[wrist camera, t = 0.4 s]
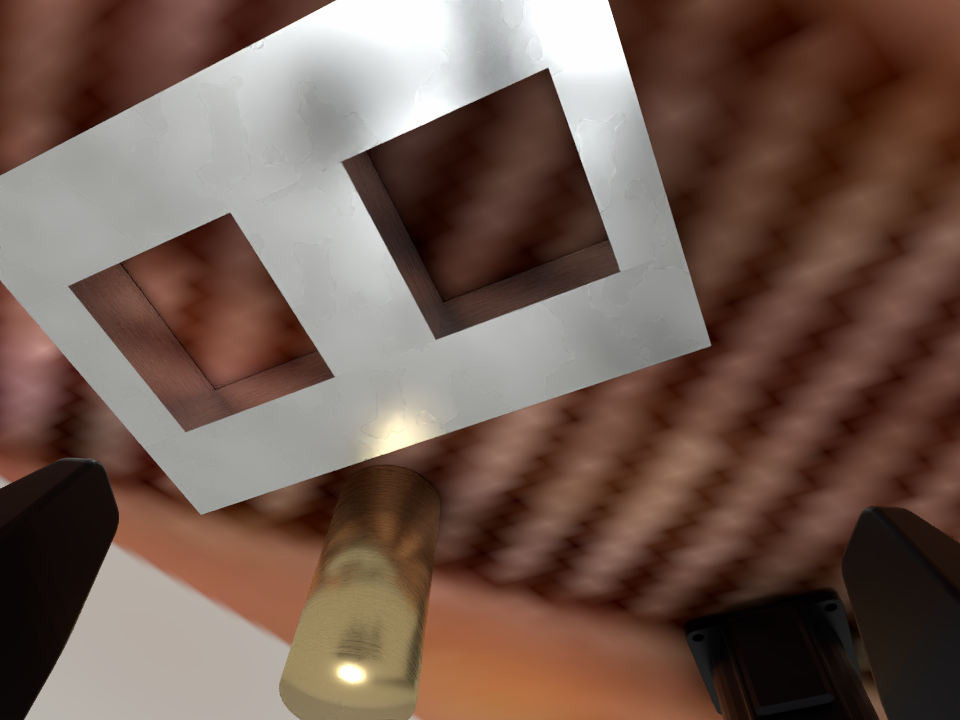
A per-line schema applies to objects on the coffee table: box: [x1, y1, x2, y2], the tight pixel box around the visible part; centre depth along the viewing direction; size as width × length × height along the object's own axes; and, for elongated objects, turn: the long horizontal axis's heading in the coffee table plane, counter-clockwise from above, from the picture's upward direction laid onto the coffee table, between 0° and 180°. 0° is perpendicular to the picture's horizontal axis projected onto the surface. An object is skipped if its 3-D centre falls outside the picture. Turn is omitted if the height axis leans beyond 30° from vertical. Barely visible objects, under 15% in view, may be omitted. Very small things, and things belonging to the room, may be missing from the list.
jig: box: [0, 0, 711, 515], centre depth 20 cm, size 12×18×2 cm, turn 114°
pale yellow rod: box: [279, 465, 441, 720], centre depth 23 cm, size 4×4×8 cm
